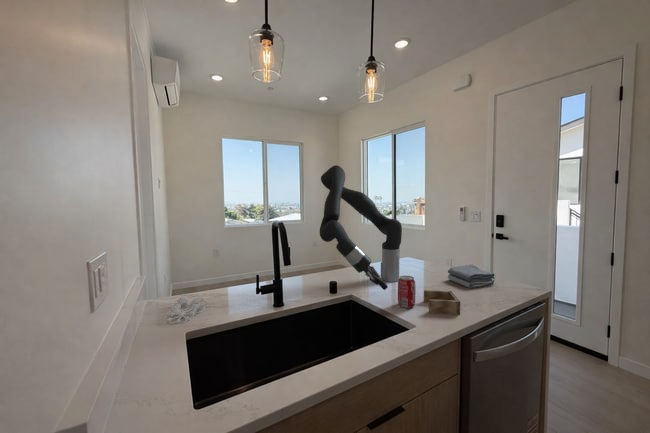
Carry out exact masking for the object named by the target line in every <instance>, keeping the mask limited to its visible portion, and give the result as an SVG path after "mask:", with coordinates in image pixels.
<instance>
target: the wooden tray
mask: <svg viewBox="0 0 650 433" xmlns="http://www.w3.org/2000/svg"><path fill="white" fill-rule="evenodd" d="M423 302H424V303H428V312H429V313H430V314H444V315H445V314H447V315H461V301H460V299H458V297H457V296H456V295H455V294H454V293H453V291H451V290H431V289H424V290H423Z"/></svg>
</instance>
